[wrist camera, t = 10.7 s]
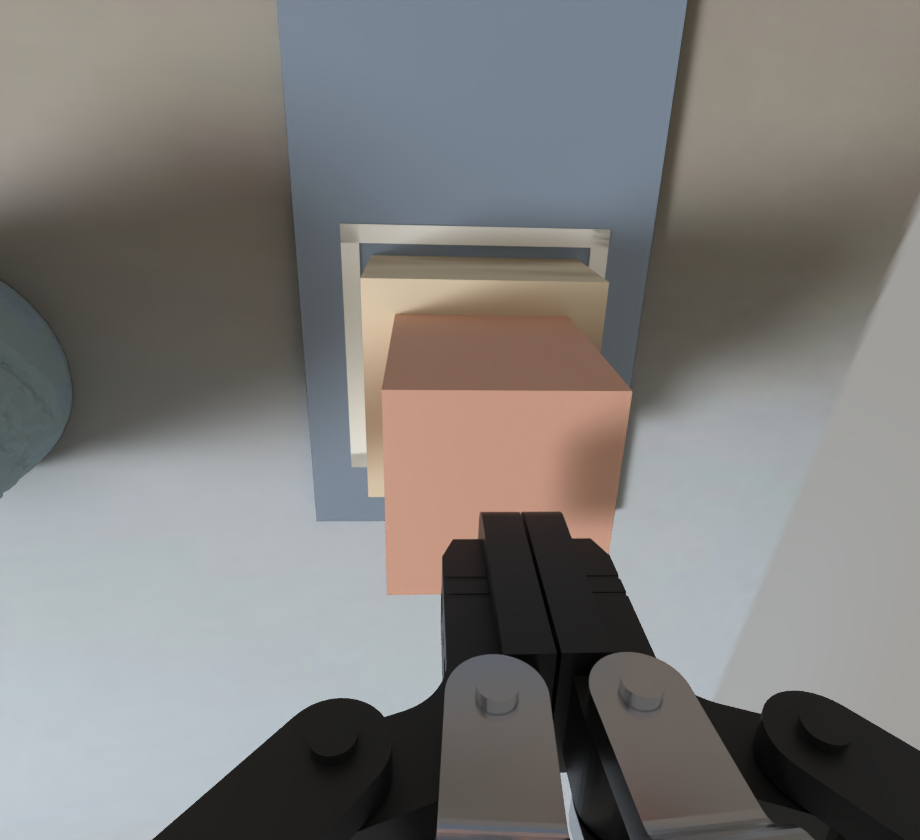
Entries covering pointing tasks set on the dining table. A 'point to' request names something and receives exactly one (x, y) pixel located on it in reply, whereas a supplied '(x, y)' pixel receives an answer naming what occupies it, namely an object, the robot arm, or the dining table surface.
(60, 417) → the grey-green pot
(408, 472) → the terracotta block
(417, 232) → the board
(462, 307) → the oak base block
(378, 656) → the dining table surface
